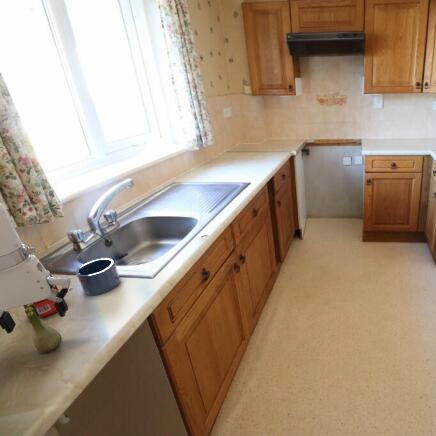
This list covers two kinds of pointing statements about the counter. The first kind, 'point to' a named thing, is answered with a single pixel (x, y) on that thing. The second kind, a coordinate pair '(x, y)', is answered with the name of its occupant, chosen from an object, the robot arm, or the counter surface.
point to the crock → (98, 276)
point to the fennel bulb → (42, 331)
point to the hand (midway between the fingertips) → (38, 321)
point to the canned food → (45, 305)
